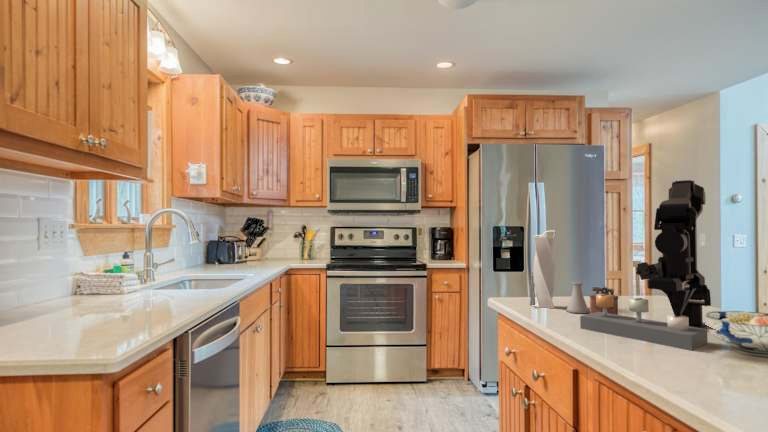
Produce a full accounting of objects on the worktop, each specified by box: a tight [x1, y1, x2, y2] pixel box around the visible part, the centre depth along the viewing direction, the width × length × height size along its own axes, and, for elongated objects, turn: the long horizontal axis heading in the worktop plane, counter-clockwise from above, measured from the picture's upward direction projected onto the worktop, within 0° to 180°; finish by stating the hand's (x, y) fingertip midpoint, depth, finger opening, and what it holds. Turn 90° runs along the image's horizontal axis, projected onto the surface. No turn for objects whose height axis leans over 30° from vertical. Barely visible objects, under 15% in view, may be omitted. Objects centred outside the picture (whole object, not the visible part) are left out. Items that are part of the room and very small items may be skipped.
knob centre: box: [628, 297, 650, 323], centre depth 112 cm, size 4×4×7 cm
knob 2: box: [666, 314, 689, 331], centre depth 105 cm, size 4×4×7 cm
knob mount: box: [579, 312, 709, 351], centre depth 112 cm, size 10×27×4 cm, turn 35°
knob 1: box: [595, 293, 614, 317], centre depth 119 cm, size 4×4×7 cm
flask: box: [566, 281, 590, 314], centre depth 143 cm, size 7×7×10 cm
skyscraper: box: [529, 229, 557, 310], centre depth 152 cm, size 8×8×28 cm
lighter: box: [589, 286, 619, 315], centre depth 132 cm, size 8×3×10 cm, turn 58°
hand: (677, 315), depth 105 cm, fingers closed, pressing on knob 2
